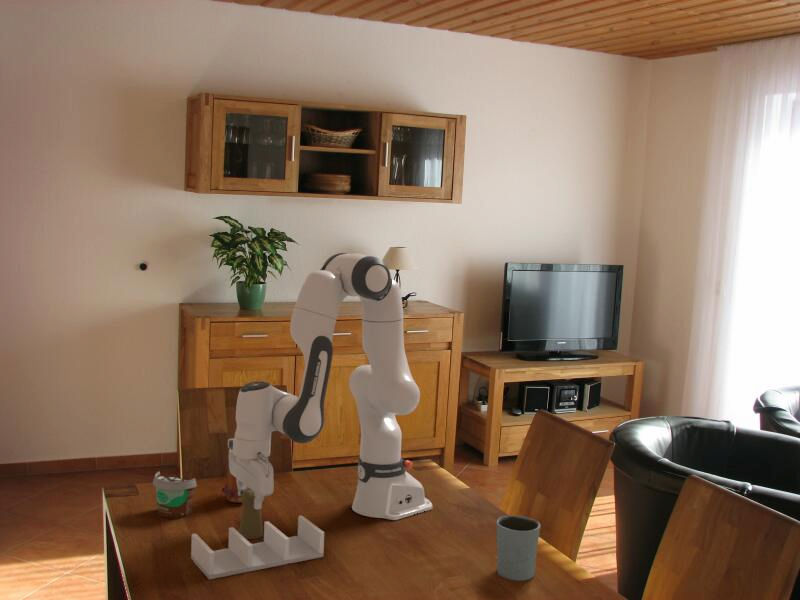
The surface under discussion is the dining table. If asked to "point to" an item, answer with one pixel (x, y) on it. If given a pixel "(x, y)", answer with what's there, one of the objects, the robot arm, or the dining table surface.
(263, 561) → the slot rack
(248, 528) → the cork
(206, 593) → the dining table surface
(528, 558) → the grey cup
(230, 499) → the mug
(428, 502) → the robot arm
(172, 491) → the food container
